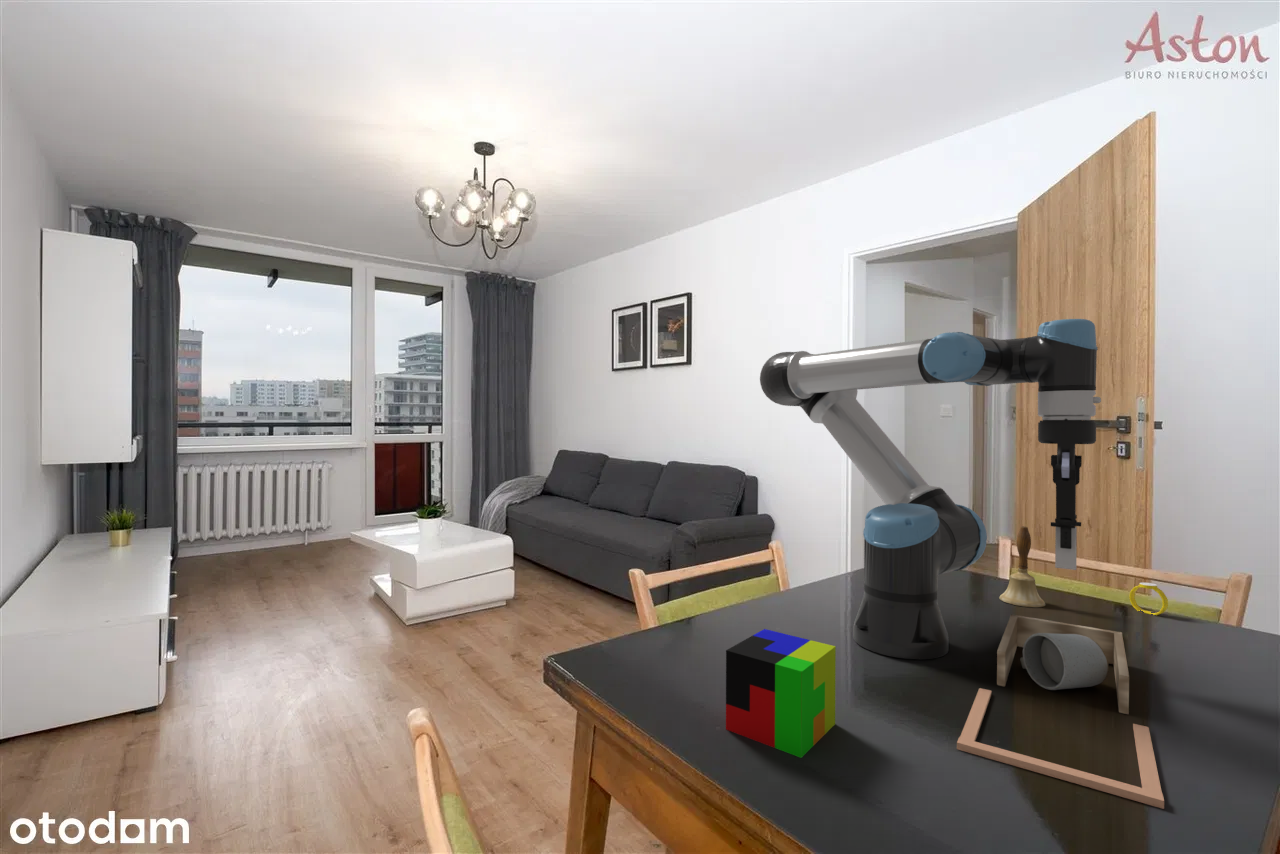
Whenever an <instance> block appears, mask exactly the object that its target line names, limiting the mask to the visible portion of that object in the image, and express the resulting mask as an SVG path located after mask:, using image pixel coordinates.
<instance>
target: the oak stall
mask: <svg viewBox="0 0 1280 854" xmlns="http://www.w3.org/2000/svg"><path fill="white" fill-rule="evenodd" d="M1036 633H1054V634H1078V635H1082V636H1086V637H1089V638H1091V639H1092V640H1094V641H1095V642H1096V643H1098V644H1099V646H1100V647H1101V648H1102V649H1103V651H1104V653H1105V655H1106V657H1107V661H1108V665H1109V664H1110V665H1113V670H1114V671H1113V672H1114V678H1115V680H1114V682H1115V689H1116V699H1117V707H1118V713H1120V714H1125V715H1130V714H1129V712H1130V711H1129V710H1130V708H1129V707H1130V673H1129V668H1128V667H1129V666H1128V662H1127V661H1128V660H1127V656H1126V650H1125V644H1124V639H1123V632H1121V631H1116V630H1109V629H1105V628H1104V629H1102V628H1097V627H1092V626H1084V625H1080V624H1079V625H1078V624H1072V623H1066V622H1062V621H1060V622H1059V621H1055V620H1050V619H1049V620H1047V619H1043V618H1037V617H1036V618H1035V617H1030V616H1023V615H1019V614H1018V615H1017V614H1010V616H1009V619H1008V622H1007V624H1006V627H1005V629H1004V633H1003V634H1002V637H1001V640H1000V643H999V645H998V648H997V651H996V654H997V655H996V656H997V657H996V664H997V665H996V685H997V686H999V687H1006V684H1007V681H1008V677H1009V675H1010V674H1009V673H1010V671H1011V668H1012V664H1013V661H1014V658H1015V654H1016V651H1017V647H1019V648H1023V646H1024V643H1025V641H1026V640H1027V639H1028V637H1030V636H1031V635H1033V634H1036Z"/></svg>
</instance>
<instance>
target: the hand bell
mask: <svg viewBox="0 0 1280 854" xmlns="http://www.w3.org/2000/svg"><path fill="white" fill-rule="evenodd" d="M1031 545H1032V538H1031V535H1030V532H1029V527H1028V526H1023V525H1021V526H1020V529H1019V530H1018V534H1017V536H1016V549H1017V553H1018V566H1017V572H1015V573H1011V574H1010V577H1009V582H1008V585H1007V588H1006V590H1005V591H1004V592H1003V593H1002V594H1000V596H999V597H998V598H999V600H1000V601H1001V602H1004V603H1007V604H1010V605H1013V606H1019V607H1023V608H1025V607H1026V608H1042V607H1046V602H1045V601H1044V599H1042V598H1041V596H1040V595H1039V593H1038V590H1037V585H1036V579H1035V577H1034V576H1032V575H1031V574H1029V573H1028V569H1029V566H1028V565H1029V564H1028V560H1029V559H1028V557H1029V554H1030V551H1031Z"/></svg>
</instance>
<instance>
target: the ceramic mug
mask: <svg viewBox="0 0 1280 854" xmlns="http://www.w3.org/2000/svg"><path fill="white" fill-rule="evenodd" d="M1019 660H1020V664H1021V667H1022V669H1025V670H1026V671H1027V673H1028V675H1029V676H1030V678H1031V679H1032V681H1034V682H1035V684H1037V685H1038V686H1039V687H1041V688H1043V689H1046V690H1049V691H1058V690H1070V689H1081V688H1091V687H1094V686H1098V685H1100V684H1102V683H1103V682H1104V681H1105V680H1106V678H1107V677H1108V674H1109V663H1108V661H1107V657H1106V655H1105V653H1104V651H1103V649H1102V648H1101V647H1100V646H1099V644H1098V643H1096V642H1095V641H1094V640H1092V639H1091V638H1089V637H1086V636H1082V635H1078V634H1054V633H1036V634H1033V635H1031V636H1030V637H1028V639H1027V640H1026V641H1025V643H1024V646H1023V647H1022V656H1021V657H1020V659H1019Z"/></svg>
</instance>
